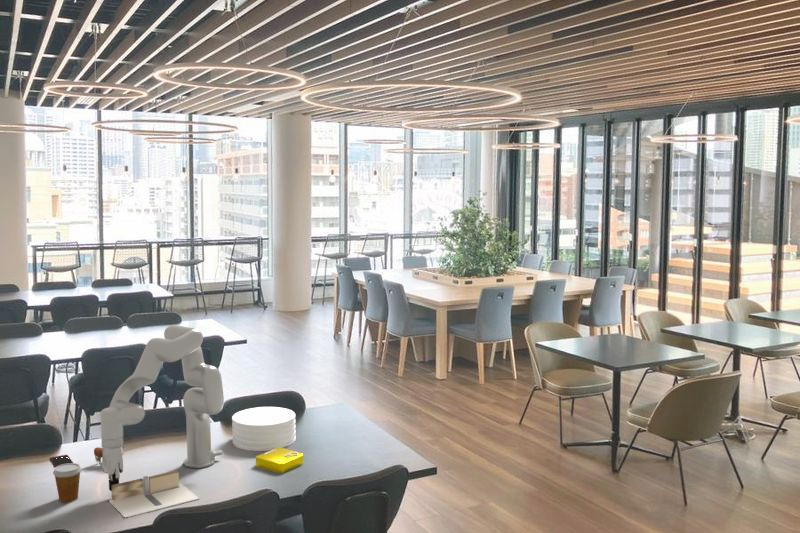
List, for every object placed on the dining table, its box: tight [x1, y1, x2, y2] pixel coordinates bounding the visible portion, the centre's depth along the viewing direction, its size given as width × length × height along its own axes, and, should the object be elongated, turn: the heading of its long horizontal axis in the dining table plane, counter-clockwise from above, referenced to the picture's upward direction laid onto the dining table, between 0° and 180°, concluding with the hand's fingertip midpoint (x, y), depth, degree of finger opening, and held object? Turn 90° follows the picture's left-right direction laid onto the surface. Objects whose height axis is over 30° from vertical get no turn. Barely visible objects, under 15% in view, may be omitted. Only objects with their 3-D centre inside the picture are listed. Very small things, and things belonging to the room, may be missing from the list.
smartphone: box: [49, 454, 74, 468], centre depth 326 cm, size 7×1×15 cm
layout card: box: [108, 470, 200, 519], centre depth 288 cm, size 27×18×7 cm, turn 127°
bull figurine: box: [93, 446, 125, 467], centre depth 323 cm, size 4×13×8 cm, turn 78°
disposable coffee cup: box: [52, 462, 82, 503], centre depth 288 cm, size 10×10×12 cm
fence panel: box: [111, 477, 144, 501], centre depth 288 cm, size 11×1×6 cm, turn 127°
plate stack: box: [231, 406, 297, 452], centre depth 354 cm, size 28×28×12 cm
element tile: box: [255, 447, 305, 474], centre depth 324 cm, size 15×15×5 cm
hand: (114, 489), depth 290 cm, fingers closed
